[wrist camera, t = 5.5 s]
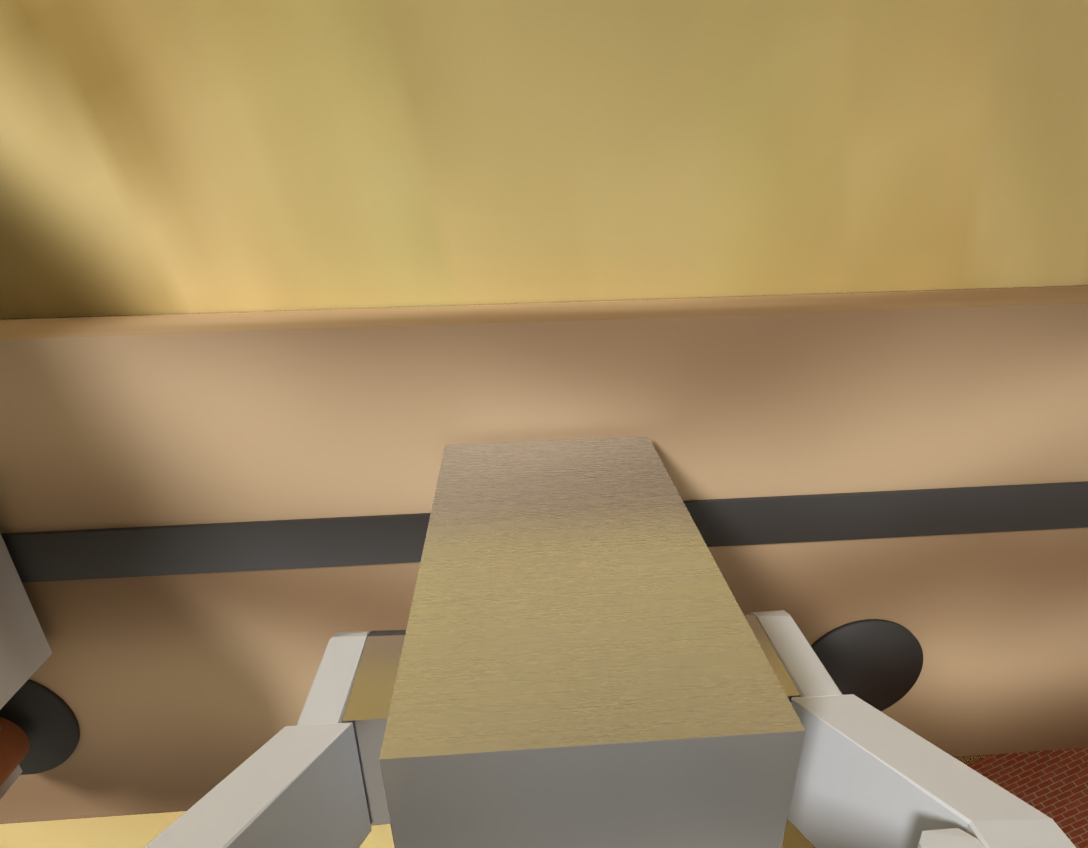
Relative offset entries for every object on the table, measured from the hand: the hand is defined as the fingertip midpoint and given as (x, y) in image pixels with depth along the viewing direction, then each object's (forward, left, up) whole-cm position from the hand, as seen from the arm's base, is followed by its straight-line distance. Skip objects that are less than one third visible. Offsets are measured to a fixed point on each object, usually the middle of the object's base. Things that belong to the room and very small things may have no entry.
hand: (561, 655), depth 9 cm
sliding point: (+1, 0, -2) cm, 3 cm away
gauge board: (+1, 0, -4) cm, 4 cm away
